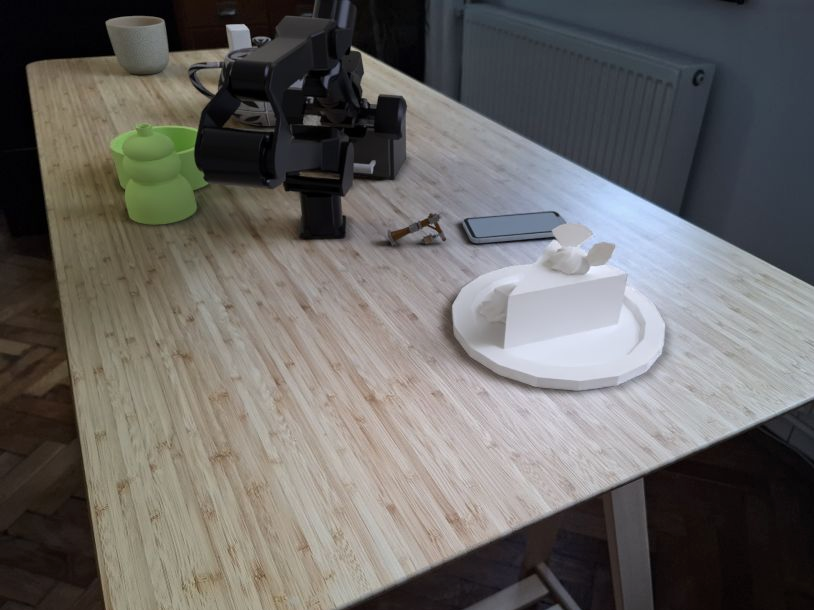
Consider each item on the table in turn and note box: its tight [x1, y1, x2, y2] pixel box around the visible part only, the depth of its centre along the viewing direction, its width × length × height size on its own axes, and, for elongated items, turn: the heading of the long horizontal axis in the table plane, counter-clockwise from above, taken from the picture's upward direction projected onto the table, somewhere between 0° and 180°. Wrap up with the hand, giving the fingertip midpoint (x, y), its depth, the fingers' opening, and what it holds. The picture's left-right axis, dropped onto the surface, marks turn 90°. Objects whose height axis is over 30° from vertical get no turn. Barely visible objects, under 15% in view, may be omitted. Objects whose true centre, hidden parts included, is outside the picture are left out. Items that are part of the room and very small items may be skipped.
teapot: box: [187, 36, 313, 127], centre depth 135 cm, size 19×31×15 cm, turn 104°
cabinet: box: [353, 103, 407, 180], centre depth 117 cm, size 10×12×9 cm
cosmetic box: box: [225, 23, 252, 52], centre depth 155 cm, size 6×4×12 cm
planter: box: [105, 15, 170, 76], centre depth 160 cm, size 12×12×11 cm
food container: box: [109, 123, 210, 226], centre depth 104 cm, size 25×15×13 cm, turn 16°
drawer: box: [352, 126, 391, 177], centre depth 114 cm, size 13×11×8 cm
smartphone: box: [461, 210, 568, 244], centre depth 101 cm, size 7×1×15 cm
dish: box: [451, 222, 666, 392], centre depth 78 cm, size 25×25×11 cm
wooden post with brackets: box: [386, 212, 447, 247], centre depth 96 cm, size 2×8×4 cm, turn 94°
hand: (354, 140), depth 111 cm, fingers closed, pressing on drawer
